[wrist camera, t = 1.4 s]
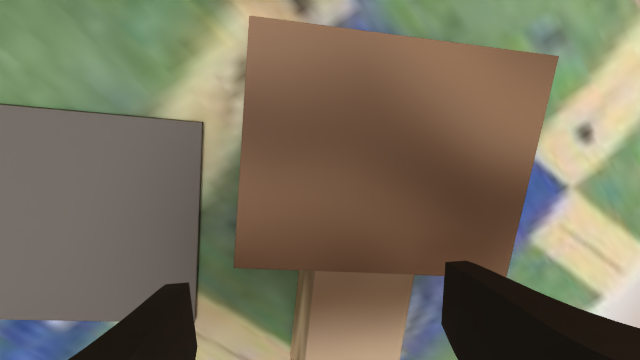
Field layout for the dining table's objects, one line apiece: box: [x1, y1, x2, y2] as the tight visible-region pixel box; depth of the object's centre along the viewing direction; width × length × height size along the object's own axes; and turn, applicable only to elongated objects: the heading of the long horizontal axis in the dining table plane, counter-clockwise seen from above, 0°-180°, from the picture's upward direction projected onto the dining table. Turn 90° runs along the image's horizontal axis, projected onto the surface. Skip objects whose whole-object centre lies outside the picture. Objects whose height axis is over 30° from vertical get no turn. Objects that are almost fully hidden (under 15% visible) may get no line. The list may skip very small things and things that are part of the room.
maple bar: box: [290, 270, 414, 360], centre depth 19 cm, size 12×4×5 cm, turn 174°
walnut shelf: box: [234, 16, 559, 277], centre depth 17 cm, size 8×10×6 cm
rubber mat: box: [0, 104, 203, 322], centre depth 18 cm, size 10×16×1 cm, turn 84°
